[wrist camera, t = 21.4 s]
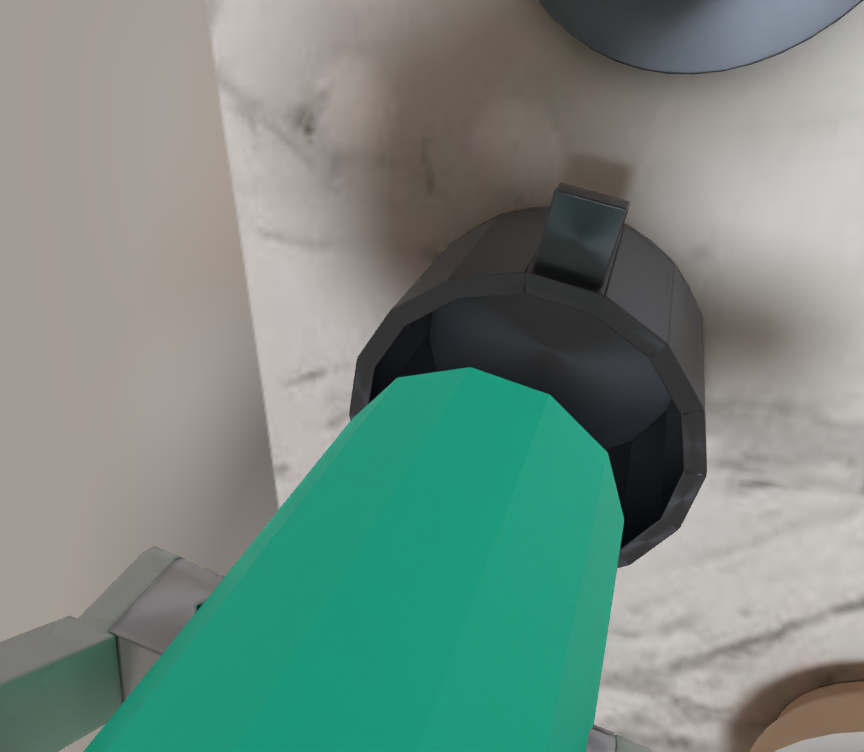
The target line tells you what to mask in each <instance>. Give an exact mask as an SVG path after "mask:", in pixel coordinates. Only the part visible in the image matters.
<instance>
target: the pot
mask: <svg viewBox="0 0 864 752" xmlns="http://www.w3.org/2000/svg"><path fill="white" fill-rule="evenodd" d="M629 205H630V202H629V201H626V200H622V199H618V198H615V197H611V196H607V195H604V194H600V193H596V192H593V191H589V190H585V189H582V188H578V187H574V186H571V185H567V184H563V183H560V184H559V185H558V187H557V188H556V190H555V191H554V195H553V199H552V202H551V206H550V207H535V208H528V209H523V210H517V211H513V212H510V213H506V214H501V215H499V216H497V217H495V218H493V219H490V220H488V221H486V222H484V223H482V224H480V225H478V226H477V227H475V228H474V229H472V230H471V231H469V232H468V233H466V234H465V235H463V236H462V237H460V238H458V239H457V240H455V241H453V242H452V243H451V244H450V245H449V246H448V247H447V248H446V249H445V251H444V252H443V253H442V254H441V255H440V256H439V257H438V258H437V259H436V260H435V262H434V263H433V264H432V265H431V266H430V267H429V268H428V269H427V270H426V272H425V273H424V274H423V275H422V276H421V277H420V278H419V279H418V280H417V282H416V283H415V284H414V285H413V286H412V287H411V288H410V289H409V290H408V292H407V293H406V294H405V295H404V296H403V297H402V298H401V299H400V300H399V301H398V303H397V304H396V305H395V306H394V307H393V308H392V309H391V310H390V312H389V313H388V314H387V316H386V317H385V319H384V320H383V322H382V323H381V324H380V326H379V327H378V329H377V330H376V332H375V333H374V334H373V336H372V337H371V339H370V340H369V342H368V343H367V344H366V346H365V347H364V349H363V350H362V352H361V353H360V354H359V356H358V359H357V363H356V370H355V377H354V384H353V391H352V398H351V405H350V412H349V413H350V414H349V416H350V420H352V419H353V418H354V417H355V416H356V415H357V414H358V413H359V412H360V411H361V410H362V409H364V408H365V407H366V406H367V405H368V404H369V403H370V402H371V401H372V400H373V399H375V398H376V397H377V396H378V395H379V394H380V393H381V392H382V391H383V390H384V389H385V388H387V387H388V386H389V385H390V384H391V383H392V382H393V381H394V380H395V379H396V378H398V377H405V376H412V375H419V374H426V373H433V372H440V371H446V370H453V369H460V368H467V367H472V368H475V369H478V370H480V371H483V372H486V373H489V374H492V375H495V376H498V377H501V378H503V379H506V380H509V381H512V382H515V383H518V384H521V385H524V386H527V387H529V388H532V389H535V390H538V391H541V392H544V393H547V394H550V395H551V396H552V397H553V398H554V399H555V400H556V401H557V402H558V403H559V404H560V405H561V406H562V407H563V408H564V409H565V410H566V411H567V412H568V413H569V414H570V415H571V416H572V417H573V418H574V419H575V420H576V421H577V422H578V423H579V424H580V425H581V426H582V427H583V428H584V429H585V430H586V431H587V432H588V433H589V434H590V435H591V436H592V437H593V438H594V439H595V440H596V441H597V442H598V443H599V444H600V445H601V446H602V447H603V448H604V449H605V450H606V451H607V452H608V456H609V460H610V464H611V468H612V472H613V476H614V480H615V484H616V488H617V492H618V496H619V500H620V504H621V508H622V512H623V516H624V526H623V532H622V539H621V546H620V552H619V559H618V565H617V568H619V567H623V566H627V565H630V564H632V563H633V562H635V561H636V560H637V559H639V558H640V557H641V556H643V555H644V554H645V553H647V552H648V551H650V550H651V549H652V548H654V547H655V546H656V545H658V544H659V543H661V542H662V541H663V540H665V539H666V538H667V537H669V536H670V535H671V534H673V533H674V532H676V531H677V530H678V529H679V528H680V527H681V525H682V523H683V521H684V519H685V517H686V515H687V513H688V511H689V509H690V507H691V505H692V503H693V501H694V499H695V497H696V495H697V493H698V491H699V489H700V488H701V486H702V484H703V482H704V480H705V478H706V473H707V455H706V417H705V380H704V348H703V319H702V315H701V313H700V311H699V309H698V307H697V304H696V302H695V299H694V297H693V295H692V293H691V290H690V288H689V286H688V284H687V283H686V281H685V280H684V278H683V276H682V275H681V273H680V272H679V270H678V269H677V267H676V266H675V265H674V264H673V263H672V262H671V260H670V259H669V258H668V257H667V256H666V254H665V253H663V252H662V251H661V250H660V249H659V248H658V247H657V246H656V245H654V244H653V243H652V242H651V241H650V240H649V239H647V238H646V237H644V236H643V235H641V234H640V233H638V232H637V231H635V230H634V229H632V228H630V227H628V226H626V225H624V224H623V223H624V221H625V218H626V215H627V212H628V208H629Z"/></svg>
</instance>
